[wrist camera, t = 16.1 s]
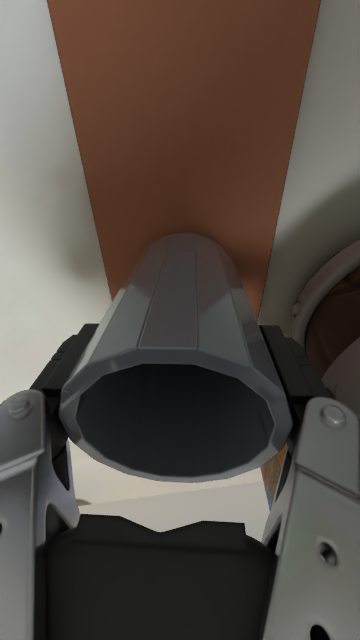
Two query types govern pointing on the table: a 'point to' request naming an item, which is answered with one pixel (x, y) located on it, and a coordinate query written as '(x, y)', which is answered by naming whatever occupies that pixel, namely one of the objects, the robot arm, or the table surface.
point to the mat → (185, 120)
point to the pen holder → (178, 372)
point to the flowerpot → (333, 325)
